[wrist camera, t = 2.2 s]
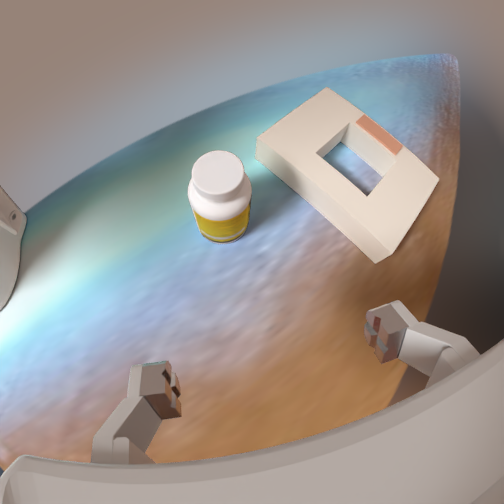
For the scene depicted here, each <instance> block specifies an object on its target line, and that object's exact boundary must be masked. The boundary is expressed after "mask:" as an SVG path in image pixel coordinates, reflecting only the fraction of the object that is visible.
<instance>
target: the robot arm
mask: <svg viewBox="0 0 504 504" xmlns="http://www.w3.org/2000/svg"><path fill="white" fill-rule="evenodd" d="M26 222H27V218H26V215H25V214H24V213H23V212H22V211H21V210H20V208H19V207H18V206H17V205H16V204H15V203H14V202H13V200H12V199H11V198H10V197H9V196H8V194H7V193H6V192H5V191H4V190H3V189H2V188H1V186H0V310H1V309H2V308H3V306H4V305H5V304H6V302H7V300H8V299H9V297H10V295H11V293H12V290H13V288H14V285H15V282H16V278H17V274H18V269H19V262H20V244H21V238H22V236H23V232H24V229H25V226H26ZM366 319H367V320H368V321H367V323H366V324H365V326H364V335H365V339H366V341H367V343H368V344H369V346H371V347H373V348H375V352H374V354H375V355H376V357H377V358H378V360H379V361H380V363H381V364H383V363H385V362H388V361H391V360H393V359H396V358H398V359H400V360H402V361H403V362H405V363H407V364H409V365H410V366H412V367H414V368H416V369H418V370H419V371H421V372H423V373H425V374H426V375H428V376H430V379H429V381H428V383H427V385H426V389H424V390H422V391H420V392H419V393H417V394H415V395H413V396H411V397H409V398H407V399H405V400H403V401H400V402H398V403H396V404H394V405H392V406H390V407H387V408H385V409H383V410H381V411H378V412H376V413H374V414H371V415H369V416H366V417H364V418H361V419H359V420H356V421H354V422H351V423H348V424H346V425H343V426H340V427H337V428H335V429H332V430H329V431H326V432H323V433H320V434H316V435H313V436H310V437H307V438H303V439H300V440H296V441H293V442H289V443H285V444H281V445H277V446H273V447H269V448H265V449H260V450H256V451H251V452H246V453H241V454H235V455H230V456H224V457H217V458H210V459H203V460H194V461H185V462H173V463H158V464H156V463H155V462H154V461H153V460H152V459H151V458H149V457H148V456H147V455H146V454H145V452H146V450H147V448H148V446H149V444H150V442H151V441H152V439H153V437H154V435H155V433H156V431H157V430H158V428H159V426H160V424H161V422H162V420H165V419H172V418H178V417H182V415H181V403H180V401H179V400H178V398H179V396H180V395H181V393H180V385H179V381H178V378H177V376H176V374H175V373H174V372H172V371H171V365H170V363H169V361H161V362H154V363H146V364H139V365H132V367H131V370H130V377H129V386H128V395H127V398H124V399H123V400H122V401H121V403H120V404H119V405H118V406H117V408H116V409H115V410H114V411H113V413H112V414H111V415H110V416H109V418H108V419H107V420H106V421H105V423H104V424H103V425H102V426H101V428H100V429H99V430H98V432H97V433H96V434H95V435H94V437H93V445H92V454H91V463H83V462H72V461H63V460H56V459H49V458H42V457H36V456H31V455H21V456H20V457H18V458H17V459H16V460H15V461H14V462H13V463H12V464H11V465H10V466H9V467H8V468H7V469H6V471H5V472H4V473H3V474H2V476H1V478H0V504H504V339H503V340H501V341H500V342H499V343H497V344H496V345H495V346H493V347H492V348H491V349H489V350H488V351H486V352H485V353H484V354H482V355H480V354H479V353H478V352H477V351H476V349H475V348H474V347H473V346H472V345H471V344H470V342H469V341H468V340H467V339H466V338H465V337H462V336H460V335H457V334H454V333H451V332H448V331H445V330H443V329H441V328H438V327H435V326H433V325H430V324H427V323H425V322H420V323H419V322H418V320H417V319H416V318H415V317H414V316H413V315H412V314H411V312H410V311H409V310H408V309H407V308H406V307H405V306H404V305H403V304H402V302H401V301H399V300H396V301H394V302H391V303H388V304H385V305H382V306H379V307H377V308H374V309H371V310H368V311H367V313H366Z"/></svg>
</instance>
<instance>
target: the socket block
mask: <svg viewBox="0 0 504 504" xmlns="http://www.w3.org/2000/svg"><path fill="white" fill-rule="evenodd" d="M339 142H342V143H343V144H344V145H345V146H347V147H348V148H349V149H350V150H352V151H353V152H354V153H355V154H357V155H358V156H359V157H360V158H361V159H363V160H364V161H365V162H366V163H367V164H368V165H370V166H371V167H372V168H373V169H374V170H375V171H376V172H378V173H379V174H380V175H381V176H382V177H383V178H382V179H381V180H380V182H379V183H378V184H377V185H376V186H375V188H374V189H373V190H372V191H371V192H370V194H369V195H368V196H366V195H365V194H364V193H363V192H362V191H360V190H359V189H358V188H357V187H356V186H355V185H354V184H352V183H351V182H350V181H349V180H348V179H347V178H345V177H344V176H343V175H342V174H341V173H340V172H338V171H337V170H336V169H335V168H334V167H332V166H331V165H330V164H329V163H327V162H326V161H325V160H324V159H322V158H323V157H324V156H325V155H326V154H328V153H329V152H330V151H331V150H332V149H333V148H334V147H335V146H336V145H337V144H338V143H339ZM255 159H256V160H258V161H259V162H260V163H261V164H263V165H264V166H265V167H266V168H268V169H269V170H270V171H271V172H273V173H274V174H275V175H276V176H277V177H279V178H280V179H281V180H282V181H284V182H285V183H286V184H287V185H288V186H289V187H291V188H292V189H293V190H294V191H295V192H297V193H298V194H299V195H300V196H301V197H302V198H304V199H305V200H306V201H307V202H308V203H309V204H311V205H312V206H313V207H314V208H315V209H316V210H317V211H319V212H320V213H321V214H322V215H323V216H324V217H325V218H326V219H328V220H329V221H330V222H331V223H332V224H333V225H334V226H335V227H336V228H338V229H339V230H340V231H341V232H342V233H343V234H344V235H345V236H346V237H347V238H348V239H349V240H351V241H352V242H353V243H354V244H355V245H356V246H357V247H358V248H359V249H360V250H361V251H362V252H363V253H364V254H365V255H366V256H367V257H369V258H370V259H371V260H372V261H373V262H374V263H375V264H376V263H378V262H379V261H381V260H383V259H385V258H386V257H388V256H390V255H391V254H393V252H394V251H395V249H396V248H397V246H398V245H399V243H400V242H401V240H402V239H403V237H404V236H405V234H406V233H407V231H408V230H409V228H410V227H411V225H412V224H413V222H414V221H415V219H416V217H417V216H418V214H419V213H420V211H421V209H422V208H423V206H424V204H425V203H426V201H427V200H428V198H429V196H430V195H431V193H432V191H433V189H434V188H435V186H436V184H437V183H438V181H439V178H438V177H437V176H436V175H435V174H434V173H433V172H432V171H431V170H430V169H429V168H428V167H427V166H426V165H425V164H424V163H422V162H421V161H420V160H419V159H418V158H417V157H416V156H415V155H414V154H413V153H412V152H411V151H409V150H408V149H407V148H406V147H405V146H404V145H403V144H402V143H400V142H399V141H398V140H397V139H396V138H395V137H393V136H392V135H391V134H390V133H389V132H387V131H386V130H385V129H384V128H382V127H381V126H380V125H379V124H377V123H376V122H375V121H374V120H372V119H371V118H370V117H369V116H367V115H366V114H365V113H363V112H362V111H361V110H359V109H358V108H357V107H355V106H354V105H352V104H351V103H350V102H348V101H347V100H345V99H344V98H343V97H341V96H340V95H338V94H337V93H335V92H334V91H332V90H331V89H329V88H328V87H326V88H325V89H323V90H322V91H320V92H319V93H317V94H316V95H314V96H313V97H311V98H310V99H309V100H307V101H306V102H304V103H303V104H301V105H300V106H299V107H297V108H296V109H294V110H293V111H292V112H290V113H289V114H287V115H286V116H285V117H283V118H282V119H281V120H279V121H278V122H277V123H275V124H274V125H273V126H271V127H270V128H269V129H267V130H266V131H265V132H263V133H262V134H261V135H259V136H258V137H257V142H256V152H255Z"/></svg>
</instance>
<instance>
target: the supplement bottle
mask: <svg viewBox="0 0 504 504" xmlns="http://www.w3.org/2000/svg"><path fill="white" fill-rule="evenodd" d="M251 192H252V188H251V183H250V180H249V178H248V176H247V174H246V173H245V172H244V166H243V164H242V162H241V160H240V159H239V158H238V157H237V156H236V155H234V154H233V153H230V152H228V151H223V150H216V151H211V152H208V153H206V154H204V155H202V156H201V157H200V158H199V159H198V160H197V161H196V162H195V164H194V166H193V168H192V178H191V180H190V182H189V185H188V198H189V202H190V205H191V208H192V211H193V214H194V217H195V220H196V223H197V226H198V229H199V231H200V233H201V234H202V235H203V237H205V238H206V239H207V240H209V241H210V242H213V243H216V244H228V243H232V242H234V241H236V240H237V239H239V238H240V237H241V236H242V235H243V234H244V233H245V231H246V229H247V227H248V223H249V215H250V204H251V196H252V193H251Z"/></svg>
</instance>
